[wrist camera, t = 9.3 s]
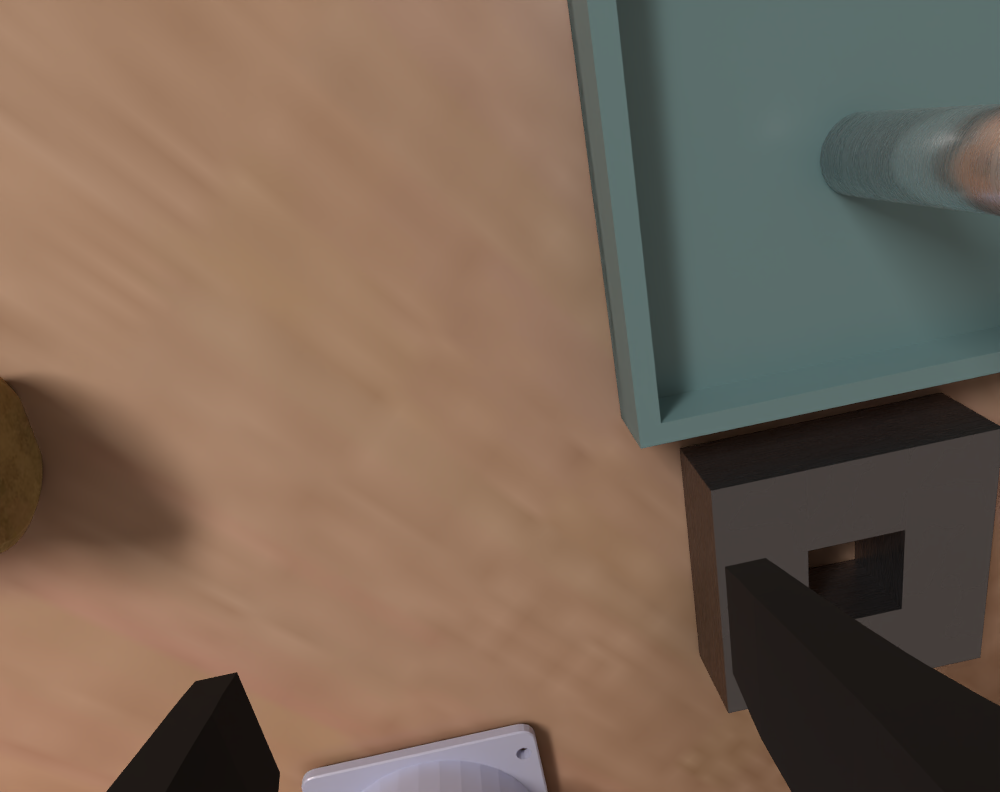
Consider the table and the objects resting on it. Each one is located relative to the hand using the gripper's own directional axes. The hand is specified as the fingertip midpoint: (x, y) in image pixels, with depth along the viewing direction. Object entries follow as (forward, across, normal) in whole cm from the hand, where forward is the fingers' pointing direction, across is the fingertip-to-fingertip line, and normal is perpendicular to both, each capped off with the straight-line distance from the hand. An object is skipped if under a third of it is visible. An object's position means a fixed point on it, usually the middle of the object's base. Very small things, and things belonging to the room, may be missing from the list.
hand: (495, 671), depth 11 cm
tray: (+10, -11, -5) cm, 16 cm away
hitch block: (+10, -10, +7) cm, 16 cm away
